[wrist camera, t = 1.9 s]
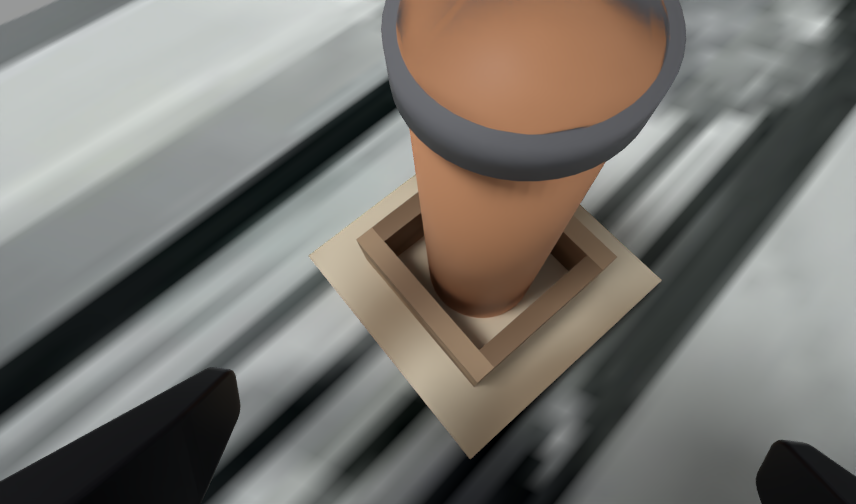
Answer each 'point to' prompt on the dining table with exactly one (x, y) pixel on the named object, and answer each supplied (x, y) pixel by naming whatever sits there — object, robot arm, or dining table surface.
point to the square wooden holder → (479, 337)
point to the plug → (518, 123)
